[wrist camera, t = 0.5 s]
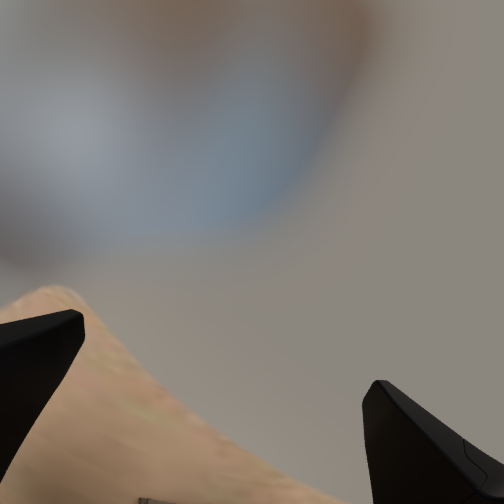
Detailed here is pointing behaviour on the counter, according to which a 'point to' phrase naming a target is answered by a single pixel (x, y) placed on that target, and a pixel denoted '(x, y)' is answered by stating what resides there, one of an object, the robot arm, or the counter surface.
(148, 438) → the counter surface
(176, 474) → the counter surface
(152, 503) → the bracket
